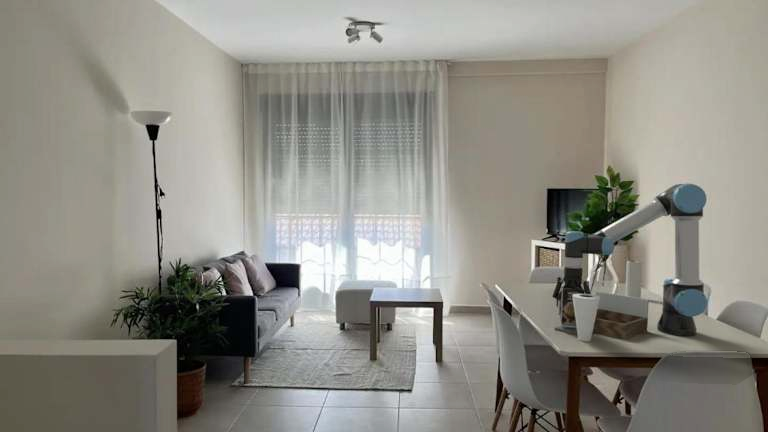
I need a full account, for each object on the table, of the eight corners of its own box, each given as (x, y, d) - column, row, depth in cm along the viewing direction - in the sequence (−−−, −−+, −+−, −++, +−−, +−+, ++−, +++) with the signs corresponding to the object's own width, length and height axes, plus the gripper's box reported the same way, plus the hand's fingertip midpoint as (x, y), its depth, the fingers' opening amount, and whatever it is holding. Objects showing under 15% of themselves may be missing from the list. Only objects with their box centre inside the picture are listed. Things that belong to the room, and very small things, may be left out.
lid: (647, 317, 235) (648, 299, 234) (647, 317, 234) (647, 299, 234) (596, 307, 253) (596, 291, 253) (595, 308, 253) (595, 291, 252)
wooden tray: (647, 331, 235) (647, 317, 235) (624, 339, 222) (625, 324, 221) (595, 320, 253) (596, 307, 253) (571, 327, 240) (572, 313, 240)
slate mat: (587, 331, 234) (587, 328, 233) (575, 334, 227) (575, 332, 227) (567, 326, 241) (567, 324, 241) (554, 329, 235) (554, 327, 235)
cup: (566, 339, 220) (567, 295, 219) (578, 334, 227) (579, 292, 226) (591, 344, 212) (593, 299, 211) (602, 339, 220) (604, 296, 219)
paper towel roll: (622, 296, 313) (624, 260, 312) (631, 296, 315) (632, 260, 314) (632, 299, 307) (633, 262, 306) (640, 298, 308) (642, 261, 307)
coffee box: (561, 325, 232) (562, 288, 231) (560, 322, 238) (561, 286, 237) (583, 327, 230) (584, 290, 229) (581, 323, 236) (582, 287, 235)
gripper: (603, 269, 226) (601, 321, 227) (554, 263, 244) (553, 311, 245) (594, 270, 222) (592, 323, 223) (545, 264, 239) (543, 313, 240)
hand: (571, 317), depth 234 cm, fingers closed on coffee box, 11 cm apart
